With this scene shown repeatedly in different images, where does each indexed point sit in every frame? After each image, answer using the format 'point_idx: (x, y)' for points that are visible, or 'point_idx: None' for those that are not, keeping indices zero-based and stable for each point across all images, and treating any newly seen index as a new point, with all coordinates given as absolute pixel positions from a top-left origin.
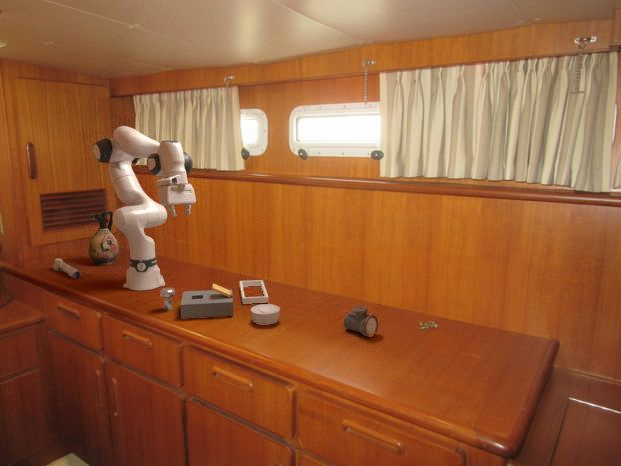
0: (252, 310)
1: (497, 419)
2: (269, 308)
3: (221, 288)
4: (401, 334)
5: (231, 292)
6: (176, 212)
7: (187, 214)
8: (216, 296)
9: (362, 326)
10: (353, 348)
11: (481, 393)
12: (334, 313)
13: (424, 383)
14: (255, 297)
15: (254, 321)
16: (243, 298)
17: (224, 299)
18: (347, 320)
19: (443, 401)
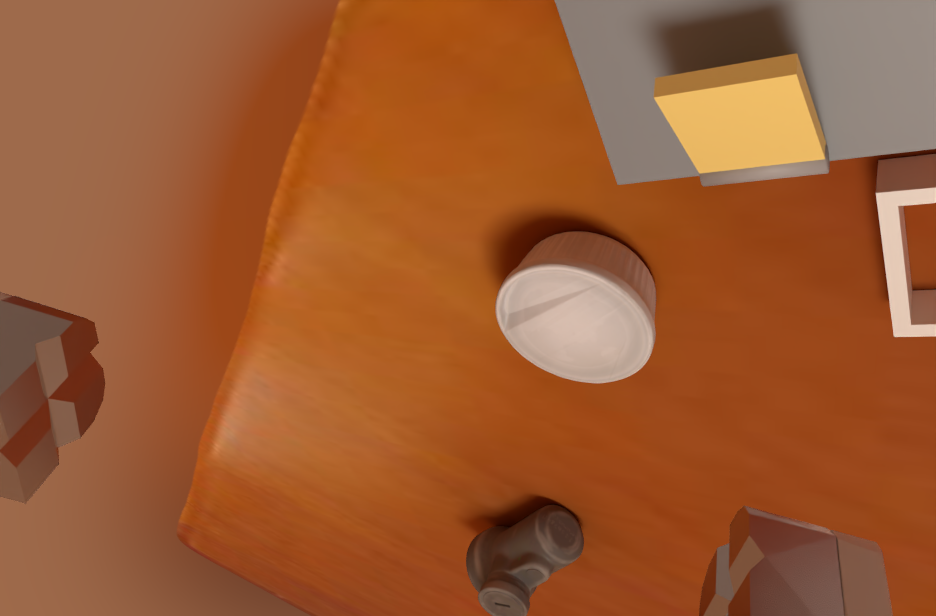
0: (547, 271)
1: (230, 558)
2: (580, 345)
3: (759, 126)
4: (549, 593)
5: (759, 178)
6: (37, 483)
7: (713, 576)
8: (736, 57)
9: (472, 552)
10: (415, 479)
11: (300, 578)
12: (727, 515)
13: (296, 530)
14: (889, 268)
15: (540, 243)
16: (877, 196)
17: (666, 125)
18: (525, 537)
19: (245, 527)
